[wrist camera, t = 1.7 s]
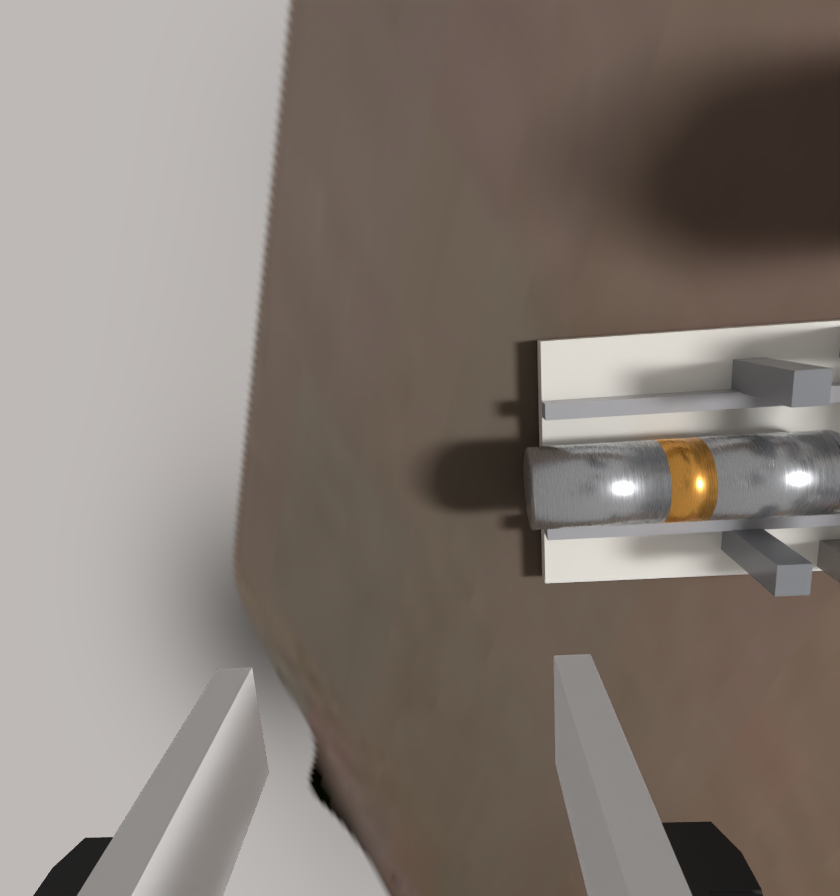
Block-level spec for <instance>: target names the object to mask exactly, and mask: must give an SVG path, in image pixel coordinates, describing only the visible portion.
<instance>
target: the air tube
mask: <svg viewBox="0 0 840 896" xmlns="http://www.w3.org/2000/svg"><path fill="white" fill-rule="evenodd" d="M524 491H525V501H526V509H527V515H528V520H529V524H530V527H531V529H532V530H542V529H562V528H582V527H601V526H621V525H640V524H660V523H679V522H699V521H718V520H738V519H758V518H777V517H797V516H816V515H835V514H840V434H839V433H837V432H835V431H832V430H811V431H794V432H778V433H761V434H744V435H727V436H710V437H693V438H676V439H659V440H642V441H625V442H608V443H592V444H575V445H558V446H541V447H526V449H525V454H524Z"/></svg>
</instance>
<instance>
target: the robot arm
mask: <svg viewBox="0 0 840 896" xmlns="http://www.w3.org/2000/svg"><path fill="white" fill-rule="evenodd" d="M554 700H555V760H556V768H557V772H558V776H559V780H560V784H561V788H562V792H563V796H564V800H565V805H566V809H567V813H568V817H569V821H570V825H571V829H572V833H573V837H574V841H575V845H576V849H577V853H578V858H579V862H580V866H581V870H582V874H583V878H584V882H585V886H586V890H587V894H588V896H763V894H762V889H761V888H760V886H759V884H758V882H757V880H756V878H755V877H754V875H753V873H752V871H751V869H750V867H749V866H748V864H747V862H746V860H745V858H744V856H743V855H742V853H741V852H740V851H739V850H738V849H737V848H736V847H735V846H734V845H733V844H732V843H731V842H730V841H729V840H728V839H727V838H726V836H725V835H724V834H723V833H722V832H721V831H720V830H719V829H718V828H717V827H716V826H715V825H714V824H713V823H712V822H675V823H661V820H660V818H659V816H658V813H657V811H656V809H655V806H654V804H653V801H652V799H651V797H650V794H649V792H648V790H647V787H646V785H645V782H644V780H643V778H642V775H641V773H640V771H639V768H638V766H637V763H636V761H635V759H634V756H633V754H632V752H631V749H630V747H629V745H628V742H627V740H626V737H625V735H624V733H623V730H622V728H621V726H620V723H619V721H618V718H617V716H616V714H615V711H614V709H613V707H612V704H611V702H610V700H609V697H608V695H607V692H606V690H605V688H604V685H603V683H602V681H601V678H600V676H599V673H598V671H597V669H596V666H595V664H594V662H593V659H592V657H591V655H590V654H583V655H558V656H554ZM268 773H269V769H268V764H267V757H266V751H265V745H264V739H263V733H262V726H261V721H260V714H259V708H258V702H257V696H256V690H255V684H254V678H253V671H252V668H225V669H217V671H216V672H215V674H214V675H213V677H212V679H211V680H210V682H209V684H208V685H207V687H206V688H205V690H204V692H203V693H202V695H201V697H200V698H199V700H198V701H197V703H196V705H195V706H194V708H193V709H192V711H191V713H190V714H189V716H188V717H187V719H186V721H185V722H184V724H183V725H182V727H181V729H180V730H179V732H178V734H177V735H176V737H175V738H174V740H173V742H172V743H171V745H170V746H169V748H168V750H167V751H166V753H165V755H164V756H163V758H162V759H161V761H160V763H159V764H158V766H157V767H156V769H155V771H154V772H153V774H152V776H151V777H150V779H149V780H148V782H147V784H146V785H145V787H144V788H143V790H142V792H141V793H140V795H139V796H138V798H137V800H136V801H135V803H134V805H133V806H132V808H131V809H130V811H129V813H128V814H127V816H126V817H125V819H124V821H123V822H122V824H121V825H120V827H119V829H118V830H117V832H116V834H115V835H114V837H101V838H85V839H83V840H82V841H81V842H80V843H79V844H78V845H77V846H76V847H75V848H74V849H73V850H72V851H71V852H69V853H68V854H67V855H66V856H65V857H64V858H63V859H62V860H61V861H60V862H59V863H57V865H55V866H54V867H53V868H52V869H51V871H50V872H49V874H48V875H47V877H46V878H45V880H44V881H43V882H42V884H41V885H40V887H39V888H38V890H37V891H36V893H35V894H34V896H223V894H224V892H225V889H226V886H227V883H228V881H229V878H230V876H231V873H232V870H233V867H234V865H235V862H236V859H237V857H238V854H239V851H240V849H241V846H242V843H243V840H244V838H245V835H246V833H247V830H248V827H249V824H250V822H251V819H252V816H253V814H254V811H255V808H256V806H257V803H258V800H259V798H260V795H261V792H262V790H263V787H264V784H265V782H266V779H267V776H268Z"/></svg>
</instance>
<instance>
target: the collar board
mask: <svg viewBox="0 0 840 896" xmlns="http://www.w3.org/2000/svg"><path fill="white" fill-rule="evenodd" d="M537 353H538V400H539V447H541V446H558V445H575V444H592V443H608V442H625V441H642V440H659V439H676V438H693V437H710V436H727V435H744V434H761V433H778V432H794V431H811V430H832V431H835V432H837V433H839V434H840V319H835V320H820V321H806V322H791V323H777V324H763V325H748V326H734V327H719V328H705V329H691V330H676V331H662V332H647V333H633V334H619V335H604V336H590V337H575V338H561V339H547V340H537ZM541 542H542V576H543V578H544V581H545V583H563V582H584V581H606V580H628V579H650V578H672V577H693V576H715V575H737V574H750V575H751V576H752V577H753V578H754V579H755V580H757V581H758V582H759V583H760V584H761V585H762V586H763V587H765V588H766V589H767V590H768V591H769V592H770V593H771V594H773V595H774V596H796V595H810V588H811V578H812V571H824V572H825V573H827V574H828V575H830V576H831V577H832V578H834V579H835V580H837V581H838V582H840V514H835V515H816V516H797V517H777V518H758V519H738V520H718V521H699V522H679V523H660V524H640V525H621V526H601V527H582V528H562V529H542V530H541Z"/></svg>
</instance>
